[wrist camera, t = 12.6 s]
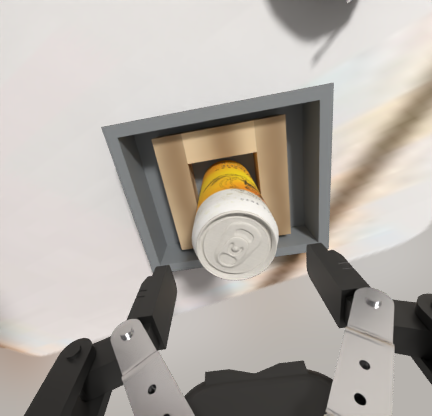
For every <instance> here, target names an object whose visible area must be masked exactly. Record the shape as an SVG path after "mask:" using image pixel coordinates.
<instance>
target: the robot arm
mask: <svg viewBox="0 0 432 416" xmlns="http://www.w3.org/2000/svg"><path fill="white" fill-rule="evenodd" d="M306 256H307V271H308V275H309V277H310V279H311V281H312V282H313V284H314V286H315V287H316V289H317V291H318V293H319V294H320V296H321V298H322V300H323V301H324V303H325V305H326V307H327V308H328V310H329V312H330V313H331V315H332V317H333V318H334V320H335V322H336V324H337V326H338V327H339V328H344V327H345V331H344V335H343V340H342V344H341V348H340V353H339V357H338V361H337V365H336V370H335V374H334V378H333V380H332V379H331V378H329V377H327V376H325V375H323V374H321V373H319V372H316V371H312V370H308V369H306V366H305V364H304V361H296V362H288V363H279V364H277V365H274V366H272V367H270V368H267V369H265V370H262V371H260V372H258V373H248V372H242V371H235V370H230V369H228V370H219V371H211V372H205V381H204V382H202V383H201V384H199V385H197V386H195V387H194V388H193V389H191V390H190V391H189V392H188V393H187V394H186V395H185V396H183V394H182V392H181V390H180V389H179V387H178V385H177V383H176V382H175V380H174V378H173V376H172V374H171V373H170V371H169V369H168V367H167V366H166V364H165V362H164V360H163V359H162V357H161V355H160V353H159V352H158V350H163V349H166V346H167V340H168V336H169V331H170V326H171V321H172V316H173V311H174V306H175V301H176V296H177V287H176V283H175V280H174V277H173V274H172V270H171V267H170V265H164V266H157V267H156V268H155V270H154V273H153V275H152V276H149V277H147V278H146V279H145V281H144V282H143V283H142V284H141V287H140V289H139V292H138V294H137V296H136V297H137V298H136V299H135V301H134V304H133V306H132V308H131V311H130V313H129V316H128V318H127V320H126V321H124V322H122V323H121V324H120V325H118V326H117V327H116V328H115V330H114V331H113V333H112V335H111V336H110V337H108V338H106V339H104V340H101V341H99V342H96V343H94V344H92V342H91V341H90V340H89V339H87V338H81V339H78V340H76V341H74V342H72V343H71V344H69V345H68V346H67V347H66V348H65V349H64V350H63V351H62V352H61V353H60V355H59V356H58V358H57V360H56V361H55V363H54V365H53V367H52V368H51V370H50V372H49V373H48V375H47V377H46V379H45V380H44V382H43V384H42V385H41V387H40V389H39V391H38V392H37V394H36V396H35V397H34V399H33V401H32V403H31V404H30V406H29V408H28V410H27V411H26V413H25V415H24V416H104V414H105V411H106V408H107V404H108V402H109V398H110V395H111V392H112V390H113V389H115V388H117V387H120V386H122V385H124V387H125V390H126V393H127V395H128V399H129V401H130V405H131V407H132V410H133V413H134V416H392V408H393V379H394V353H398V354H403V355H408V356H411V357H412V359H413V360H414V361H415V363H416V364H417V365H418V367H419V368H420V369H421V371H422V372H423V374H424V375H425V376H426V378H427V379H428V380H429V382H430V383H431V384H432V294H423V295H421V296H419V297H418V299H417V302H407V301H398V300H393V299H391V298H390V297H389V296H388V295H387V294H386V293H384V292H382V291H380V290H378V289H374V288H371V287H370V286H369V285H368V284H367V283H366V282H365V280H363V278H362V277H361V276H360V275H359V274H358V273H357V271H356V270H355V269H354V268H352V266H351V265H350V264H349V263H348V261H347V260H346V259H345V258H344V257H343V256H342V255H341V254H339V253H338V252H336V251H334V250H329V251H328V250H327V248H326V247H325V246H324V245H323V244H322V243H314V244H308V245H307V247H306Z"/></svg>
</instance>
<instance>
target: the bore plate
mask: <svg viewBox="0 0 432 416" xmlns="http://www.w3.org/2000/svg"><path fill="white" fill-rule="evenodd" d="M151 140H152V144H153V147H154V151H155V154H156V158H157V162H158V165H159V169H160V172H161V176H162V180H163V183H164V187H165V190H166V194H167V198H168V201H169V205H170V208H171V212H172V216H173V219H174V223H175V226H176V230H177V234H178V237H179V241H180V244H181V248H182V250H186V249H193V245H192V231H193V226H194V221H195V216H196V211H197V206H198V201H199V195H198V191H197V186H196V181H195V177H194V172H193V168H192V163H196V162H202V161H208V160H213V159H219V158H225V157H231V156H236V155H242V154H248V153H253V157H254V166H255V176H256V185H257V189H258V190H259V192H260V194H261V196H262V198H263V199H264V201H265V203H266V205H267V207H268V209H269V210H270V212H271V214H272V216H273V218H274V219H275V221H276V224H277V227H278V232H279V235H286V234H291V226H290V205H289V183H288V162H287V140H286V119H285V115H284V114H277V115H271V116H266V117H261V118H255V119H250V120H244V121H239V122H234V123H228V124H223V125H217V126H212V127H207V128H201V129H196V130H190V131H185V132H180V133H174V134H169V135H163V136H158V137H156V138H153V139H151Z"/></svg>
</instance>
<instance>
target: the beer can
mask: <svg viewBox="0 0 432 416" xmlns="http://www.w3.org/2000/svg"><path fill="white" fill-rule="evenodd" d="M278 239H279V232H278V227H277V224H276V221H275V219H274V218H273V216H272V214H271V212H270V210H269V209H268V207H267V205H266V203H265V201H264V199H263V198H262V196H261V194H260V192H259V190H258V189H257V187H256V185H255V183H254V181H253V180H252V178H251V176H250V174H249V172H248V171H247V169H246V168H245V167H244V166H243V165H241V164H240V163H238V162H236V161H232V160H223V161H219V162H217V163H215V164H213V165H212V166H210V167H209V168H208V170H207V171H206V173H205V174H204V177H203V181H202V186H201V191H200V196H199V201H198V206H197V211H196V216H195V221H194V226H193V231H192V245H193V249H194V251H195V253H196V255H197V257H198V259H199V261H200V263H201V264H202V266H203V267H204V268H205V269H206V270H207V271H208V272H210V273H211V274H213V275H214V276H216V277H219V278H222V279H226V280H245V279H249V278H252V277H254V276H256V275H258V274H260V273H261V272H263V271H264V270H265V269H266V268H267V267H268V266H269V265H270V264H271V262H272V261H273V259H274V257H275V254H276V250H277V244H278Z"/></svg>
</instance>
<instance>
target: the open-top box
mask: <svg viewBox="0 0 432 416" xmlns="http://www.w3.org/2000/svg"><path fill="white" fill-rule="evenodd" d="M333 89H334V83H329V84H324V85H319V86H314V87H308V88H303V89H298V90H293V91H287V92H282V93H277V94H272V95H267V96H261V97H256V98H251V99H246V100H240V101H235V102H230V103H225V104H220V105H214V106H209V107H204V108H199V109H193V110H188V111H183V112H178V113H173V114H167V115H162V116H157V117H152V118H146V119H141V120H136V121H131V122H126V123H120V124H115V125H110V126H105V127H101V128H102V131H103V134H104V136H105V139H106V142H107V145H108V148H109V150H110V153H111V156H112V159H113V162H114V165H115V167H116V170H117V173H118V176H119V179H120V181H121V184H122V187H123V190H124V193H125V195H126V198H127V201H128V204H129V207H130V209H131V212H132V215H133V218H134V221H135V223H136V226H137V229H138V232H139V235H140V238H141V240H142V243H143V246H144V249H145V252H146V254H147V257H148V260H149V263H150V266H151V268H152V271H153V273H154V270H155V268H156V267H157V266H164V265H170V267H171V270H172V272H173V271H180V270H187V269H194V268H201V267H203V266H202V264H201V263H200V261H199V259H198V257H197V255H196V253H195V251H194V249H186V250H182V248H181V244H180V241H179V237H178V234H177V230H176V226H175V223H174V219H173V216H172V212H171V208H170V205H169V201H168V198H167V194H166V190H165V187H164V183H163V180H162V176H161V172H160V169H159V165H158V162H157V158H156V154H155V151H154V147H153V144H152V140H151V139H153V138H156V137H158V136H163V135H169V134H174V133H180V132H185V131H190V130H196V129H201V128H207V127H212V126H217V125H223V124H228V123H234V122H239V121H244V120H250V119H255V118H261V117H266V116H271V115H277V114H284V115H285V119H286V140H287V162H288V183H289V205H290V226H291V234H286V235H279V239H278V244H277V250H276V254H275V257H277V256H284V255H291V254H298V253H305V252H306V247H307V245H308V244H314V243H322V244H323V245H324V246H325V247H326V248H327V249H329V217H330V185H331V153H332V121H333ZM223 160H232V161H236V162H238V163H240V164H241V165H243V166H244V167H245V168H246V169H247V171H248V172H249V174H250V176H251V178H252V180H253V181H254V183H255V185H256V176H255V166H254V157H253V153H248V154H242V155H236V156H231V157H225V158H219V159H213V160H208V161H202V162H196V163H192V168H193V172H194V177H195V181H196V186H197V191H198V195H199V196H200V191H201V186H202V181H203V177H204V174H205V173H206V171H207V170H208V168H209V167H210V166H212V165H213V164H215V163H217V162H219V161H223ZM256 187H257V185H256Z"/></svg>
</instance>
